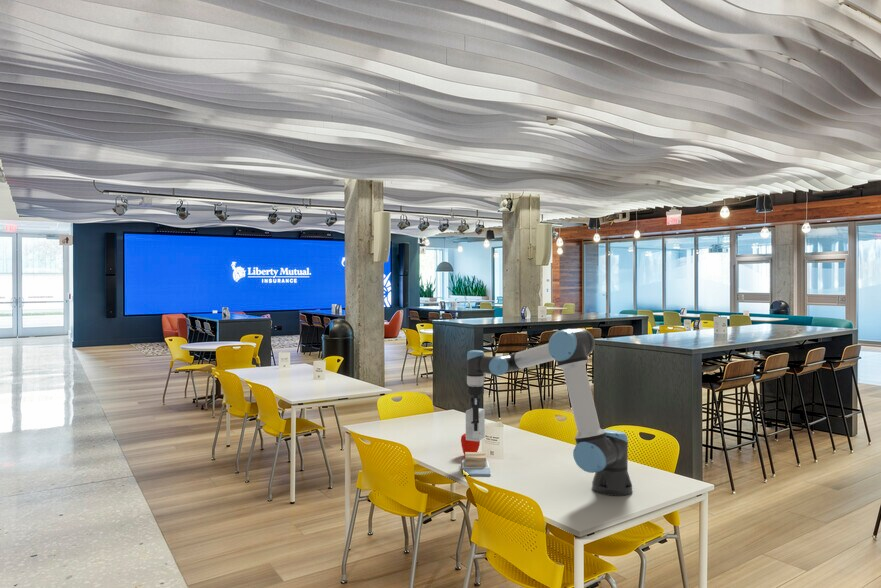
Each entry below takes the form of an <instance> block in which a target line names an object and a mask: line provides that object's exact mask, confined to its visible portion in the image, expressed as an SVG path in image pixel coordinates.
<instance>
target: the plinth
mask: <svg viewBox="0 0 881 588" xmlns="http://www.w3.org/2000/svg"><path fill="white" fill-rule="evenodd" d="M464 460H465V467H486V460H487V455H486V451H485V452H483V451H477V452H465V455H464Z"/></svg>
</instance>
